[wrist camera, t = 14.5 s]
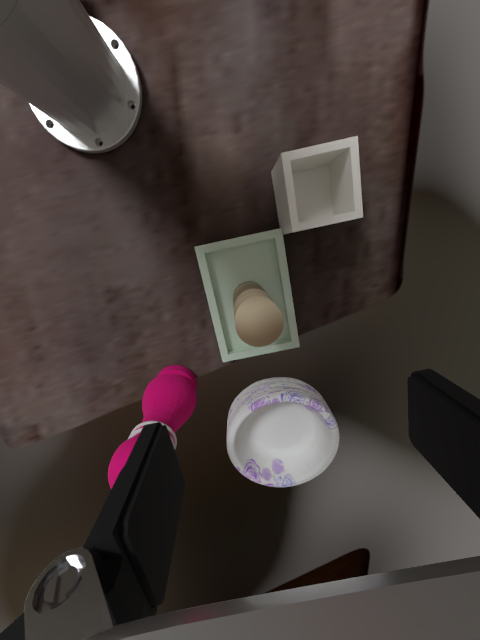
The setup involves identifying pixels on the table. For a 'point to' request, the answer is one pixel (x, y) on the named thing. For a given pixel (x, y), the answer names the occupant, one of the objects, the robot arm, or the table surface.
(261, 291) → the beige ringed cylinder
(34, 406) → the table surface
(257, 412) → the paper bowls
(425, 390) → the robot arm
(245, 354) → the tray
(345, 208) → the box
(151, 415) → the pepper mill
